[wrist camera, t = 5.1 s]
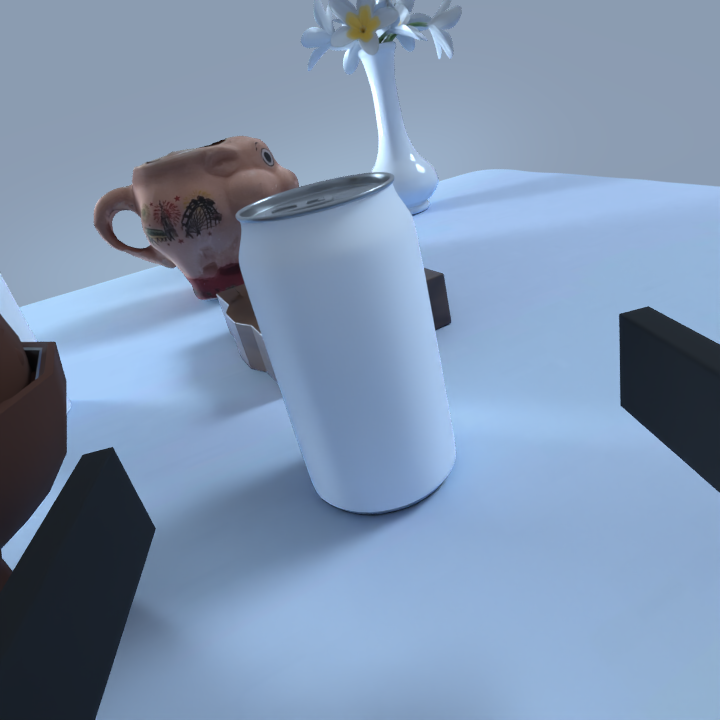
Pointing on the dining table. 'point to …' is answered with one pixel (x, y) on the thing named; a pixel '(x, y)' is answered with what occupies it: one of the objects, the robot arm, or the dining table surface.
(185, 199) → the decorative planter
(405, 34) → the flower vase
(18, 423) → the ice cream bowl
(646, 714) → the dining table surface
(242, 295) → the holder
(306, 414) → the can
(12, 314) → the cylindrical container
